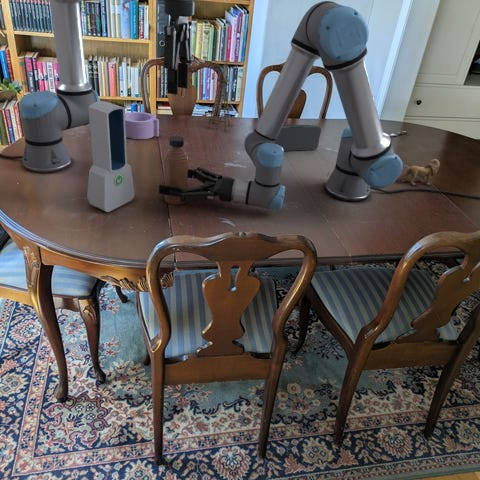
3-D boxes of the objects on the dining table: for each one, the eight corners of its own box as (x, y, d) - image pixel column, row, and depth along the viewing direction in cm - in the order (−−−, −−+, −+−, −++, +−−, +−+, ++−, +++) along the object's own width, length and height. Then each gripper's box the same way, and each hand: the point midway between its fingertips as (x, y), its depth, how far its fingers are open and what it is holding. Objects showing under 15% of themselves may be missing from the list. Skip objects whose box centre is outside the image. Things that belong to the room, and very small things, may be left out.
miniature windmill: (225, 131, 202) (231, 58, 186) (207, 128, 203) (211, 56, 187) (230, 124, 210) (236, 54, 194) (212, 121, 211) (216, 51, 195)
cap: (170, 141, 139) (170, 135, 138) (184, 142, 139) (184, 136, 138) (168, 146, 136) (168, 140, 134) (183, 147, 136) (183, 141, 135)
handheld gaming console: (315, 147, 196) (319, 124, 190) (317, 149, 194) (322, 126, 188) (264, 149, 189) (267, 125, 183) (266, 152, 187) (269, 127, 181)
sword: (403, 131, 224) (404, 129, 223) (408, 133, 222) (409, 131, 221) (360, 143, 208) (360, 140, 207) (365, 145, 206) (366, 142, 205)
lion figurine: (428, 178, 179) (435, 156, 174) (437, 184, 175) (445, 162, 170) (396, 181, 174) (403, 158, 169) (405, 187, 170) (412, 164, 165)
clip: (108, 140, 182) (107, 123, 178) (105, 128, 191) (104, 112, 188) (160, 138, 188) (160, 121, 184) (154, 127, 198) (154, 111, 194)
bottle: (165, 192, 150) (165, 134, 139) (187, 194, 150) (190, 136, 140) (162, 203, 144) (162, 143, 133) (186, 205, 144) (188, 145, 134)
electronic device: (105, 214, 135) (97, 112, 119) (87, 205, 138) (77, 105, 122) (135, 199, 144) (132, 102, 128) (117, 191, 147) (112, 96, 131)
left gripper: (180, -7, 125) (178, 80, 138) (148, -2, 109) (150, 97, 122) (206, -4, 124) (202, 84, 136) (178, 2, 108) (176, 101, 120)
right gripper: (224, 221, 133) (153, 209, 136) (239, 184, 154) (177, 174, 156) (226, 197, 129) (153, 185, 131) (241, 163, 150) (178, 153, 152)
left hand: (177, 90), depth 129 cm, fingers open, 6 cm apart
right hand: (166, 179), depth 144 cm, fingers open, 13 cm apart
